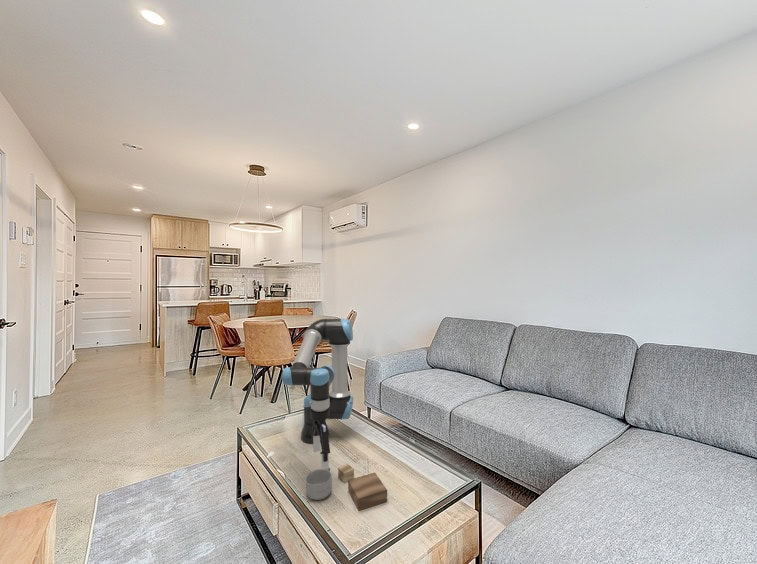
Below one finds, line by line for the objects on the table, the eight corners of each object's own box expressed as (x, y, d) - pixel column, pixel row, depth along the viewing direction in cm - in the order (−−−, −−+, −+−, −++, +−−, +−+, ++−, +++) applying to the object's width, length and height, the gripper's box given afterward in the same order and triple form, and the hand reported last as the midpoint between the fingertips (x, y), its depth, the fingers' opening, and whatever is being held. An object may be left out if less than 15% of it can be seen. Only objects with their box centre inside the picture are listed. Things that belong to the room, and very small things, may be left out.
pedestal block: (348, 491, 135) (348, 479, 135) (375, 483, 140) (375, 472, 140) (358, 511, 124) (358, 498, 124) (387, 502, 129) (387, 489, 129)
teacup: (319, 508, 127) (319, 488, 126) (299, 498, 133) (299, 478, 132) (342, 487, 139) (342, 469, 138) (322, 479, 144) (322, 461, 144)
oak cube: (338, 479, 144) (338, 467, 144) (347, 474, 148) (347, 463, 147) (344, 484, 141) (344, 473, 140) (354, 480, 144) (353, 468, 143)
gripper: (304, 398, 144) (305, 446, 145) (318, 422, 121) (318, 479, 122) (321, 396, 147) (322, 442, 148) (337, 418, 124) (338, 473, 125)
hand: (320, 459), depth 135 cm, fingers open, 13 cm apart
